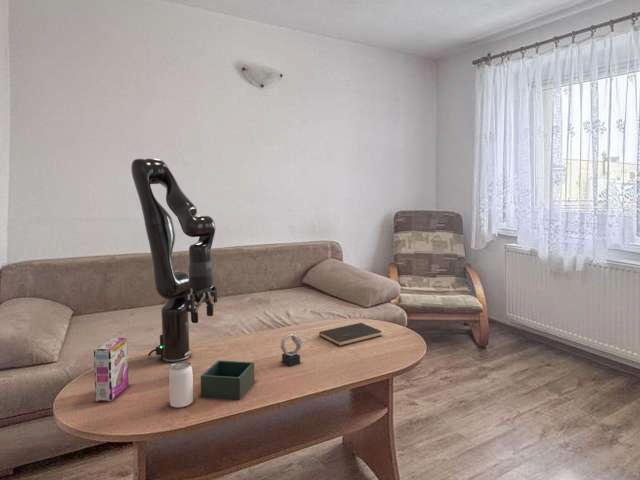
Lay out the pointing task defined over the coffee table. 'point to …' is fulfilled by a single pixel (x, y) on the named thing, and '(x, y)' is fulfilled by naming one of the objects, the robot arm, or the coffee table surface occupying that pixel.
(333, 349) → the coffee table surface
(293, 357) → the watch
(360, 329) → the hardcover book
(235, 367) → the bin
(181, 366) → the can
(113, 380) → the candy bar box
